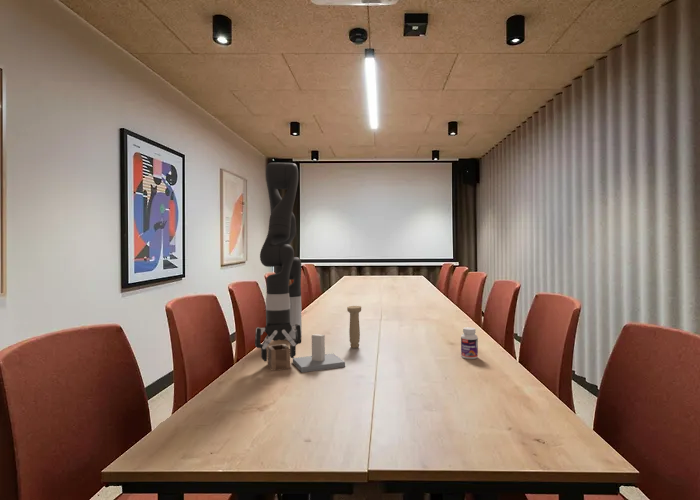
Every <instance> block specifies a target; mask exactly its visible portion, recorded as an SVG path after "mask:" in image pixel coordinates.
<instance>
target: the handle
mask: <svg viewBox="0 0 700 500" xmlns="http://www.w3.org/2000/svg"><path fill="white" fill-rule="evenodd" d="M361 311H362V306H361V305H351V306H347V311H346V312H348V313H349V329H348V330H349V331H348V333H349V334H348V335H349V345H350V348H351V349H358V348H359V347H360V338H361V337H360V336H361V331H360V329H361V328H360V327H361V326H360V312H361Z"/></svg>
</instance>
